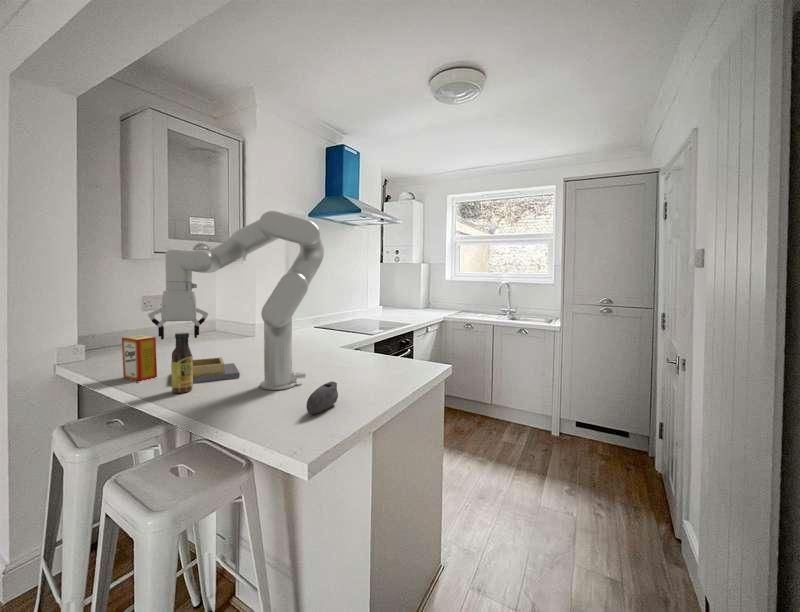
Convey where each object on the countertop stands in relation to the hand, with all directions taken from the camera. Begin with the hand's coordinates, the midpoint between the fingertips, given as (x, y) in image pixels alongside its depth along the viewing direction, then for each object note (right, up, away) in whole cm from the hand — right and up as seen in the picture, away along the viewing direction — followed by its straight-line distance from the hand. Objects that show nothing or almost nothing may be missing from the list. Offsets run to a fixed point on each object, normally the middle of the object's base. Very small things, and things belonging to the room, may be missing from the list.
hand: (179, 338), depth 126 cm
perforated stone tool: (+51, -20, -14) cm, 57 cm away
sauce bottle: (0, -18, +2) cm, 18 cm away
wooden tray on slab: (-2, -17, +21) cm, 27 cm away
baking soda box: (-25, -17, +17) cm, 35 cm away
